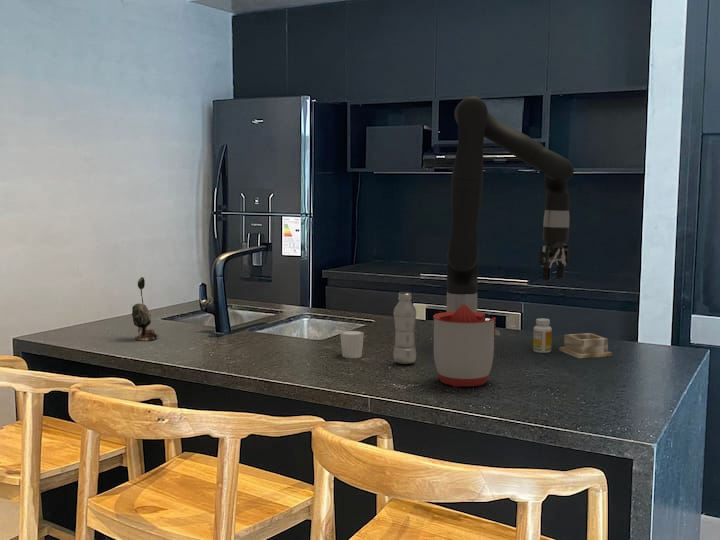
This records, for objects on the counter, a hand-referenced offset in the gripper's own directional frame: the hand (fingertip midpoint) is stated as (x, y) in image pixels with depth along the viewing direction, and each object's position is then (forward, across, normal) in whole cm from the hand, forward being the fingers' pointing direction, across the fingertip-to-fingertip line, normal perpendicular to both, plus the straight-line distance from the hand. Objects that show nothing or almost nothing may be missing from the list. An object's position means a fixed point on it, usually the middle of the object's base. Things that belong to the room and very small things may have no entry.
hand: (553, 279), depth 232 cm
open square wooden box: (+21, +1, -11) cm, 24 cm away
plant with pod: (+25, -74, +105) cm, 131 cm away
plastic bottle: (+23, -45, +21) cm, 55 cm away
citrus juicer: (+22, -51, -3) cm, 55 cm away
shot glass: (+23, -48, +38) cm, 66 cm away
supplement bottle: (+22, -5, 0) cm, 22 cm away
